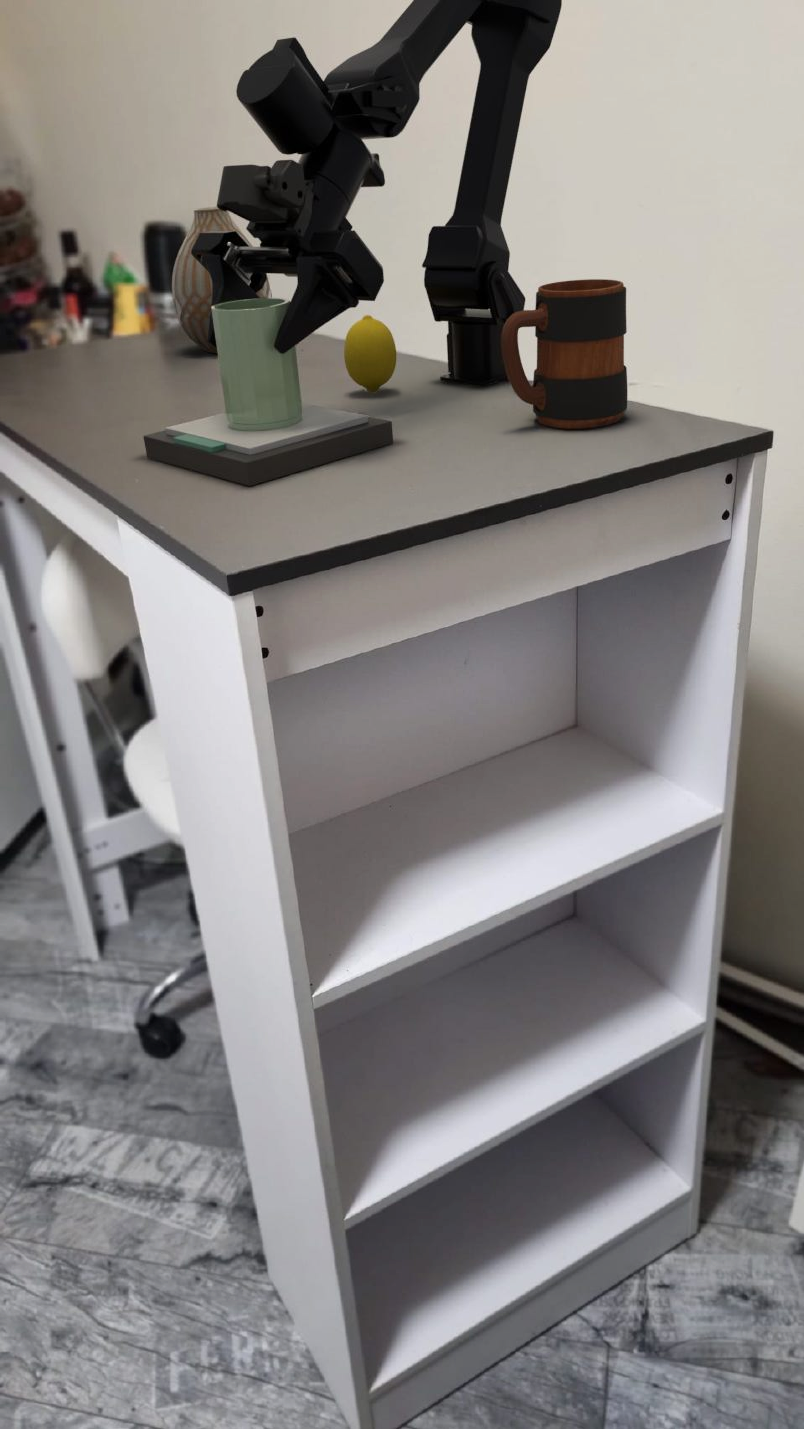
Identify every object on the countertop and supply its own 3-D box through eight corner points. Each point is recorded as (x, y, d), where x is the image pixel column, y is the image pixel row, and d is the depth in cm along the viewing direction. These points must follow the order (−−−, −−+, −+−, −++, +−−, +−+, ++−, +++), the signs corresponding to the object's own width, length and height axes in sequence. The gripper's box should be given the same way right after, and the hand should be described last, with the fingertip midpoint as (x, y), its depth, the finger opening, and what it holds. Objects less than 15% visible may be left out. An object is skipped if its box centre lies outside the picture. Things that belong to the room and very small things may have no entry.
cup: (299, 410, 101) (287, 295, 97) (305, 426, 96) (292, 305, 91) (227, 417, 101) (210, 302, 96) (228, 434, 95) (211, 312, 90)
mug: (484, 421, 103) (480, 290, 98) (597, 403, 107) (599, 275, 101) (524, 441, 96) (522, 300, 91) (644, 421, 99) (649, 284, 94)
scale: (393, 443, 99) (391, 414, 97) (249, 486, 89) (245, 455, 88) (285, 420, 109) (282, 394, 108) (146, 457, 100) (141, 429, 99)
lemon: (405, 387, 119) (400, 310, 116) (388, 399, 115) (382, 319, 111) (358, 387, 121) (352, 311, 117) (339, 398, 117) (332, 320, 113)
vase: (272, 336, 156) (256, 201, 148) (283, 351, 145) (266, 206, 136) (179, 346, 154) (158, 209, 146) (183, 362, 143) (160, 215, 134)
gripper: (190, 130, 95) (111, 283, 93) (348, 116, 84) (262, 290, 82) (267, 220, 104) (196, 362, 102) (419, 218, 93) (343, 377, 91)
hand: (244, 347), depth 94 cm, fingers open, 8 cm apart
